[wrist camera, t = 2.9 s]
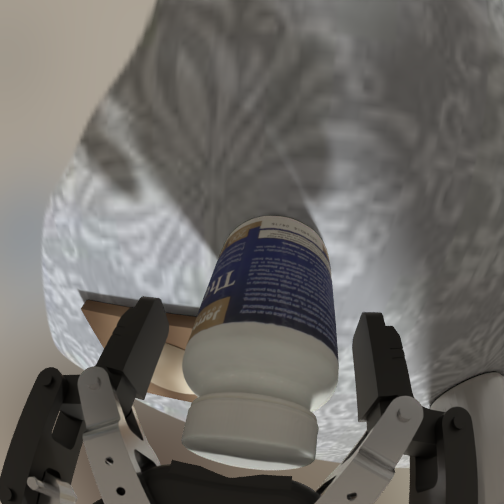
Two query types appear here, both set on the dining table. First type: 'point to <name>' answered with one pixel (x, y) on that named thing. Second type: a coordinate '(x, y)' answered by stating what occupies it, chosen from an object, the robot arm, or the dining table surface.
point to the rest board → (170, 362)
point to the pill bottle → (263, 349)
